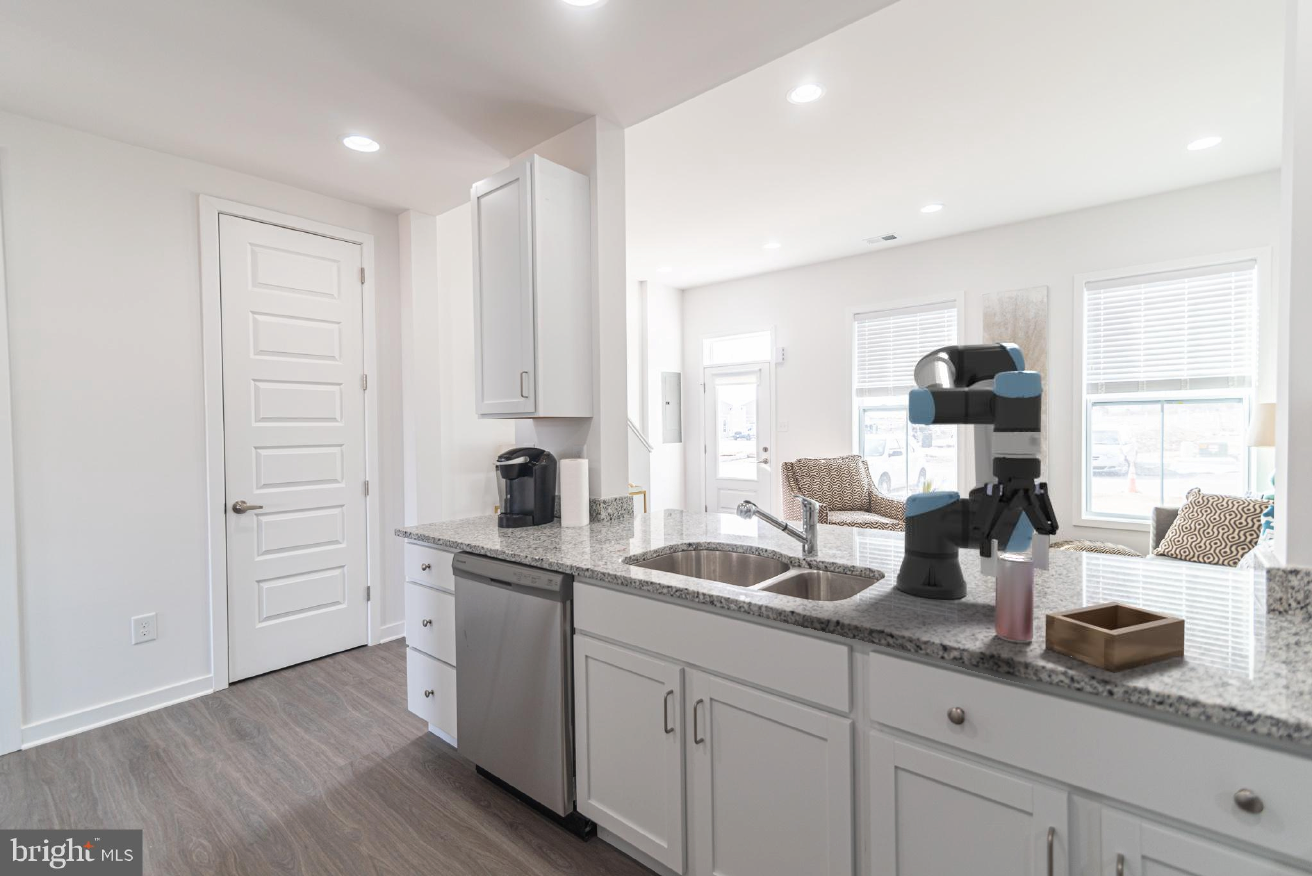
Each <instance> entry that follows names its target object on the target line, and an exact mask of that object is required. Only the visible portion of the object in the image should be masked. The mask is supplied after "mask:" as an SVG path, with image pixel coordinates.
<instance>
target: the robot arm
mask: <svg viewBox="0 0 1312 876" xmlns="http://www.w3.org/2000/svg"><path fill="white" fill-rule="evenodd" d="M913 379H914V382H915V384H916V385H917V387H918V388H914V389H911V390H910V391H909V392H908V420H909V423H911V424H913V425H923V426H930V425H931V426H935V425H936V426H941V425H942V426H945V425H946V426H947V425H949V426H950V425H951V426H952V425H955V426H956V425H972V426H973V442H974V443H973V444H974V445H973V446H974V472H975V477H974V478H975V486H974V487H973V488H971V489H970V490H969V491H968V498H967V497H966V498H965V497H961V495H960V493H959V492H958V491H954V490H951V491H950V490H937V491H925V492H919V493H915V494H911V495H909V496H908V497H907V498H906V499H905V502H904V503H905V504H904V505H905V506H904V513H903V517H904V552H903V553H904V555H903V558H902V562H901V565H900V567H899V573H897V575H896V580H895V581H896V582H895V583H896V584H895V585H896V588H897V590H899V591H900V592H901V591H902V592H904V593H905V594H909V595H912V596H916V597H921V598H922V597H923V598H929V599H936V600H937V599H938V600H939V599H940V600H942V599H943V600H952V599H954V600H955V599H960V598H964V597H966V596H967V595H968V590H967V589H968V588H967V587H968V586H967V582H966V581H965V579H964V575H963V574H964V573H963V569H962V567H961V563H960V561H959V552H960V551H959V550H960V549H963V550H977V551H978V550H979V557H980V575H984V576H987V577H993V578H996V577H997V558H998V557H997V556H998V552H1003V554H1008V553H1024V552H1027V551H1028V550H1029V549H1030V548H1031V558H1033V563H1034V569H1037V570H1041V571H1049V570H1050V565H1049V564H1050V548H1051V547H1050V543H1051V540H1050V537H1051V536H1056V535H1057V534H1058V533H1057V531H1059V528H1060V526H1059V523H1058V520H1057V517H1056V513H1055V511H1054V508H1053V505H1052V501H1051V499H1050V496H1049V489H1048V488H1049V487H1048V482H1046V481H1035V480H1038V479H1040V477H1041V475H1042V473H1041V472H1042V468H1041V467H1042V464H1041V463H1042V460H1041V459H1040V458H1038V457H1037V456H1039V455H1041V452H1042V451H1041V449H1042V447H1041V443H1042V442H1041V441H1042V440H1041V439H1042V437H1041V433H1042V430H1041V429H1042V397H1043V395H1042V394H1043V393H1044V389H1043V386H1042V375H1041V373H1040V372H1038V371H1034V370H1026V364H1025V357H1024V354H1023V351H1022V349H1021V348H1020V346H1019V345H1018V344H1015V343H1013V342H1009V343H1008V342H1007V343H1004V342H995V343H984V344H983V343H982V344H981V343H980V344H963V345H962V344H959V345H956V344H955V345H946V346H943V347H939V348H938V349H935V350H932V351H931V352H929V353H927V354H926V355H924V356H922V357H921V358H920V360H919V361H918V362H917V363H916V365H915V367H914V371H913ZM1050 535H1051V536H1050Z"/></svg>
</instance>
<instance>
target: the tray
mask: <svg viewBox="0 0 1312 876" xmlns="http://www.w3.org/2000/svg"><path fill="white" fill-rule="evenodd" d="M1185 622H1186V620H1185V619H1184V618H1179V617H1175V616H1172V615H1168V614H1164V613H1159V612H1156V611H1153V610H1148V609H1144V608H1141V607H1136V606H1132V605H1129V604H1124V603H1121V602H1118V601H1117V602H1116V601H1110V602H1106V603H1100V604H1095V605H1088V606H1083V607H1082V606H1081V607H1077V608H1072V609H1066V610H1062V611H1056V612H1050V613H1047V614H1046V613H1045V638H1044V639H1045V640H1044V641H1045V642H1044V643H1045V644H1044V645H1045V646H1044V647H1045V649H1047V650H1049V649H1051V650H1050V651H1052V650H1053V652H1055V651H1057V652H1056V653H1059V654H1061V653H1062V654H1061V655H1064V656H1066V655H1068V656H1067V657H1069V656H1072V657H1073V659H1075V658H1077V659H1076V660H1078V659H1079V661H1080V660H1083V661H1084V663H1086V662H1087V663H1086V664H1089V665H1091V666H1094V665H1095V667H1097V668H1099V669H1102V670H1106V671H1108V672H1111V673H1117V672H1121V671H1125V670H1129V669H1133V668H1137V667H1140V666H1141V667H1142V666H1145V665H1149V664H1152V662H1153V663H1156V662H1161V661H1164V660H1168V658H1169V659H1171V658H1176V657H1180V656H1183V655H1185V627H1186V626H1185V625H1186V623H1185ZM1072 657H1071V658H1072ZM1160 660H1161V661H1160ZM1083 661H1082V662H1083Z"/></svg>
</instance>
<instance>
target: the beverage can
mask: <svg viewBox="0 0 1312 876" xmlns="http://www.w3.org/2000/svg"><path fill="white" fill-rule="evenodd" d="M1034 599H1035V568H1034V563H1033V558H1032V556H1028V555H1022V554H1016V553H1000V554H997V577H995V617H994V618H995V621H994V622H995V623H994V626H995V627H994V628H995V629H994V631H995V633H996V635H997V637H998V638H999V639H1001V640H1004V641H1006V642H1009V643H1010V642H1011V643H1015V642H1017V643H1016V644H1027V643H1028V644H1029V643H1030V642H1032V640H1033V638H1034V612H1035V611H1034V609H1035V607H1034V605H1035V604H1034V603H1035V602H1034V601H1035V600H1034Z"/></svg>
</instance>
